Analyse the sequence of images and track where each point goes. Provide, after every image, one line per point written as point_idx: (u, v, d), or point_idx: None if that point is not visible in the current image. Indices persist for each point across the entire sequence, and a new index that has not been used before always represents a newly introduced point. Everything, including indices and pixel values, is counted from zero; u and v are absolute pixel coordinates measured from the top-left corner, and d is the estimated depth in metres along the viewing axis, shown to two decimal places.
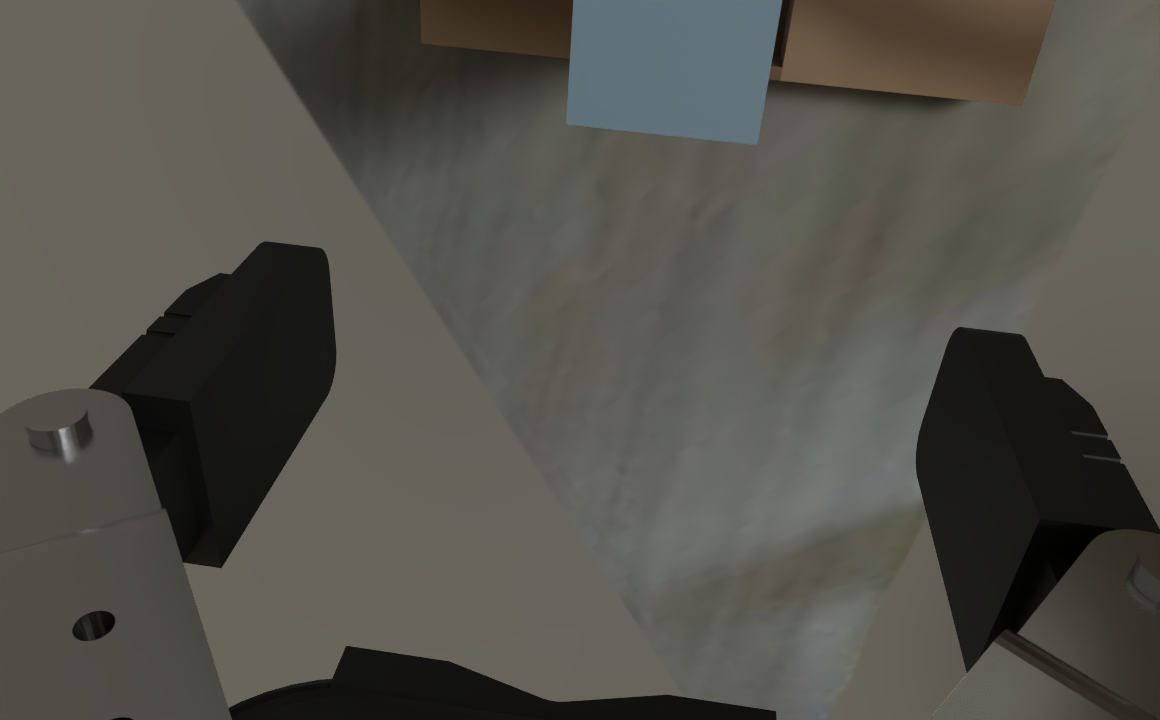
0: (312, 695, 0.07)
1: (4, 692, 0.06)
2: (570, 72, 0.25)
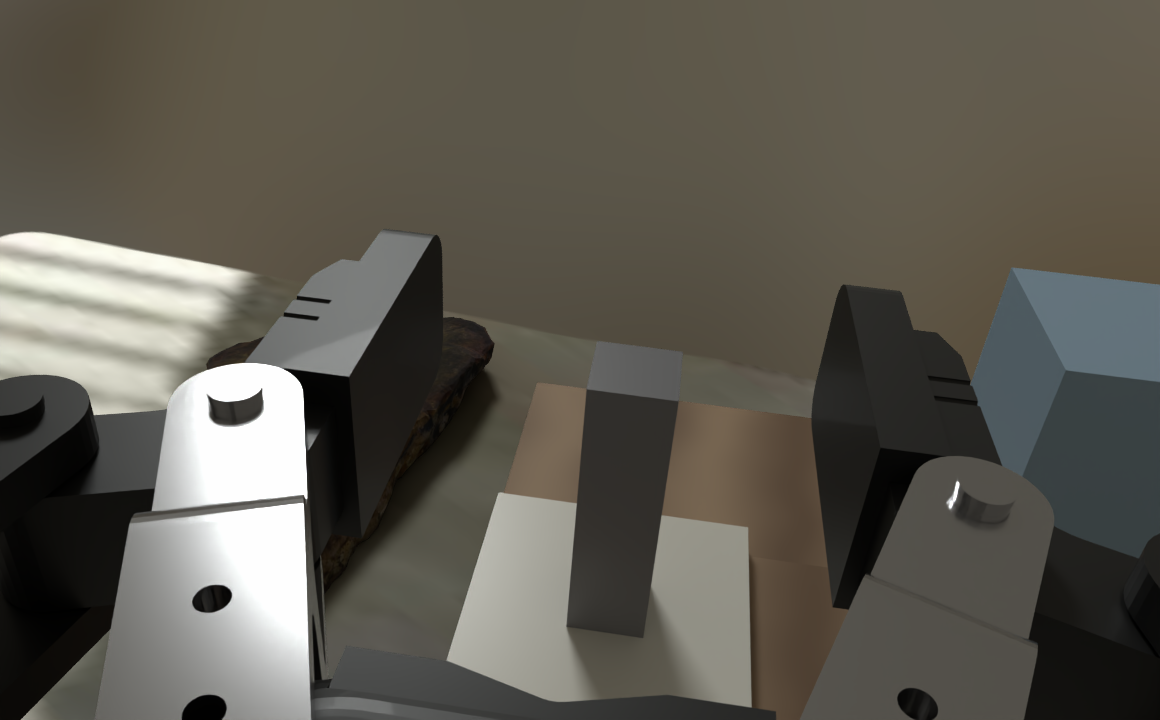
0: None
1: (121, 647, 0.06)
2: None
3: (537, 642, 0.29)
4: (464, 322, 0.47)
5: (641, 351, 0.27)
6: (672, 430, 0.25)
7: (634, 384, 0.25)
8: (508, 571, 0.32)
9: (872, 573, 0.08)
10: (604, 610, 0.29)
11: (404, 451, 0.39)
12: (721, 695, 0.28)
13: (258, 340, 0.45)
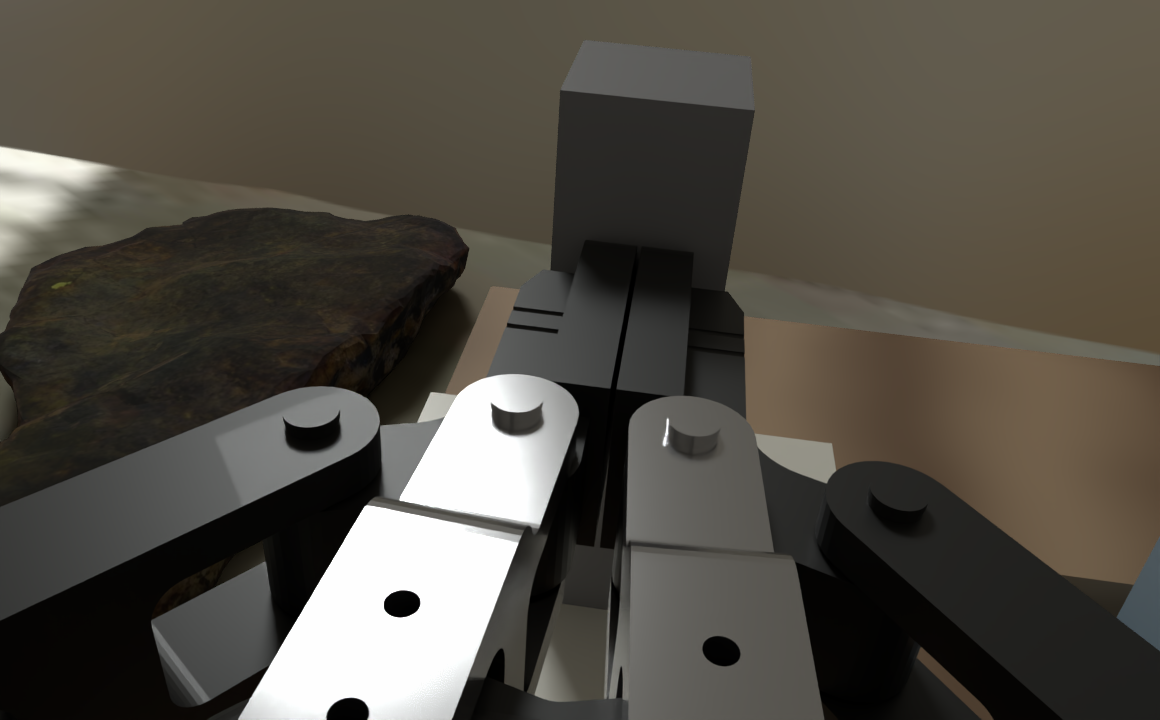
0: None
1: (310, 621, 0.06)
2: None
3: None
4: (425, 220, 0.32)
5: (669, 53, 0.14)
6: (738, 183, 0.12)
7: (659, 88, 0.12)
8: None
9: (627, 535, 0.08)
10: (600, 568, 0.16)
11: None
12: None
13: (115, 243, 0.30)
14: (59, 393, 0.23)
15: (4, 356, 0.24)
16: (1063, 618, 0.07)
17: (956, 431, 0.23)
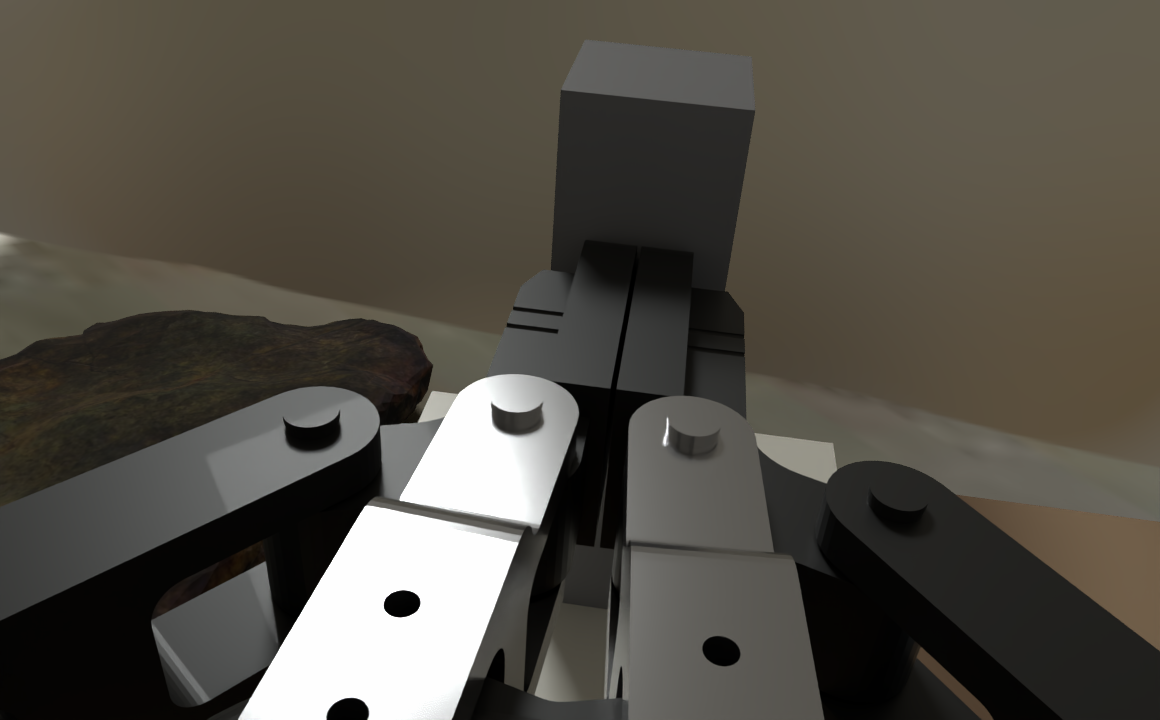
0: None
1: (309, 621, 0.06)
2: None
3: None
4: (380, 327, 0.26)
5: (670, 52, 0.14)
6: (738, 183, 0.12)
7: (660, 87, 0.12)
8: None
9: (627, 535, 0.08)
10: (600, 568, 0.16)
11: None
12: None
13: None
14: None
15: None
16: (1062, 617, 0.07)
17: None
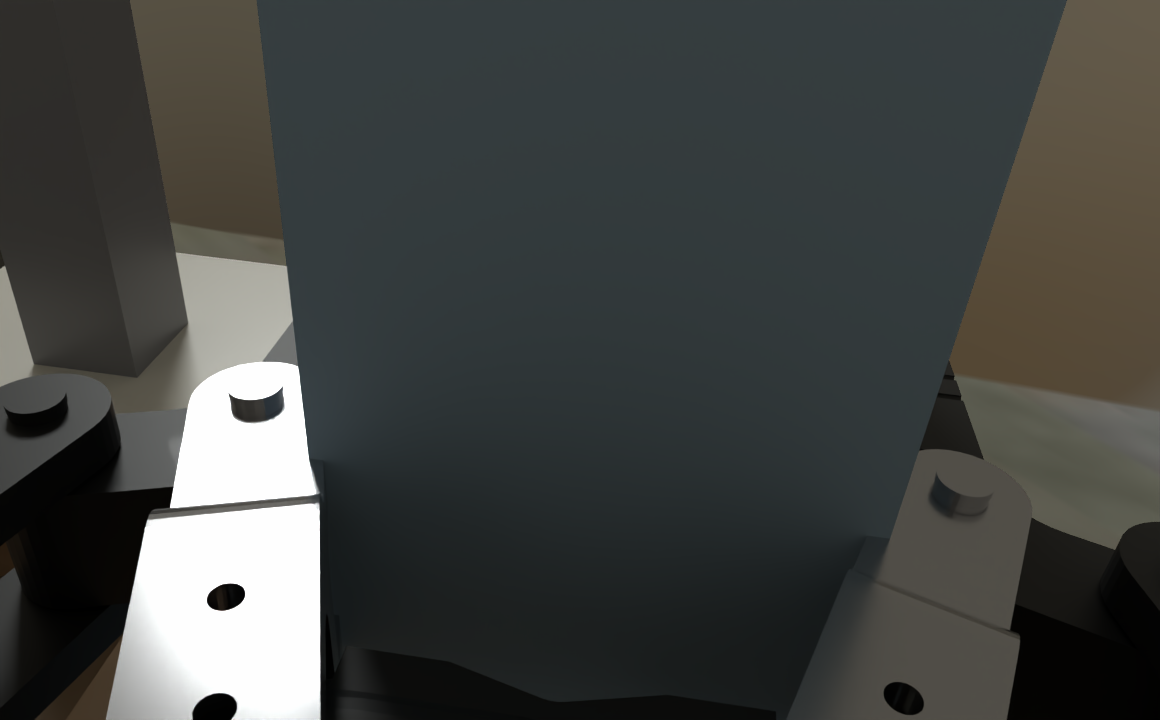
0: None
1: (135, 643, 0.06)
2: None
3: None
4: None
5: None
6: None
7: None
8: None
9: (855, 568, 0.08)
10: (72, 333, 0.21)
11: None
12: None
13: None
14: None
15: None
16: None
17: None
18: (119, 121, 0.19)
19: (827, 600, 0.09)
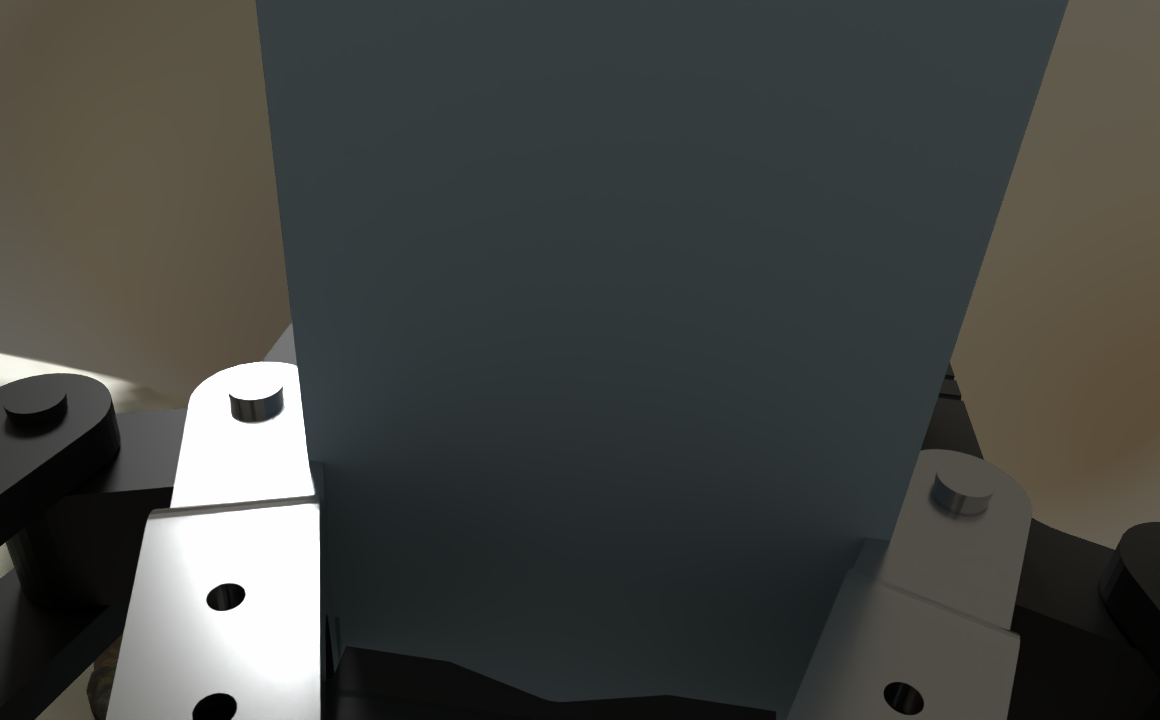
0: None
1: (135, 642, 0.06)
2: None
3: None
4: None
5: None
6: None
7: None
8: None
9: (855, 568, 0.08)
10: None
11: None
12: None
13: None
14: None
15: (99, 706, 0.27)
16: None
17: None
18: None
19: (827, 604, 0.08)
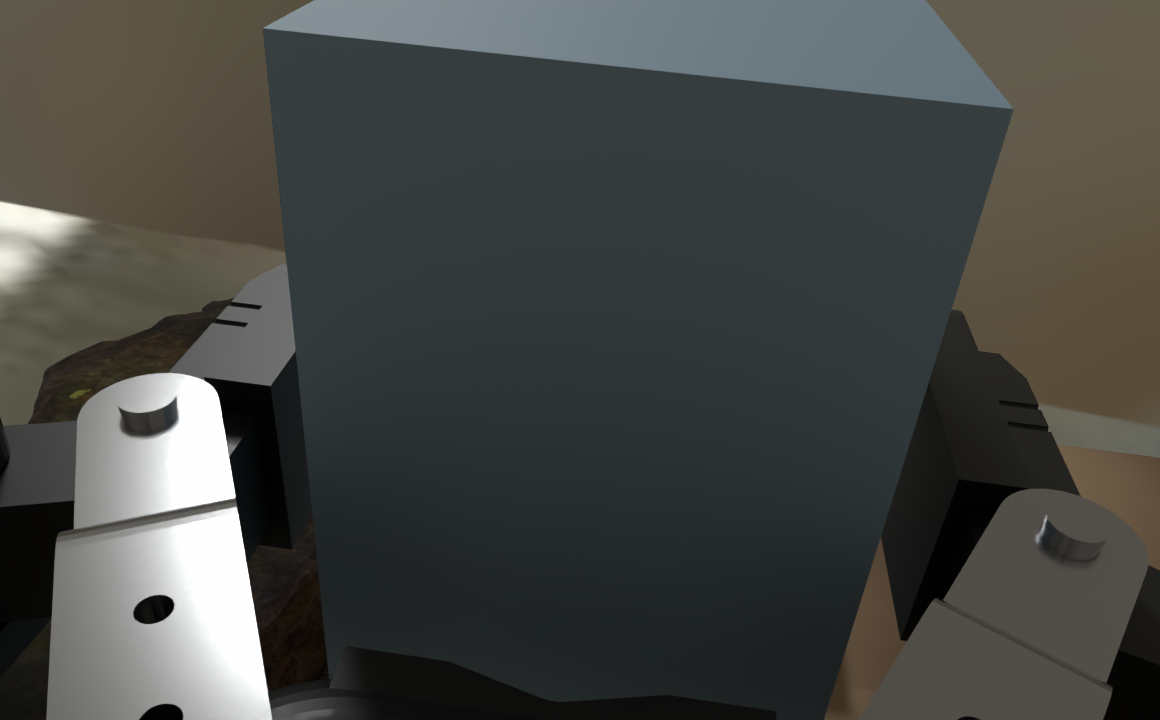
0: (312, 695, 0.07)
1: (63, 666, 0.06)
2: (799, 89, 0.06)
3: None
4: None
5: None
6: None
7: None
8: None
9: (945, 599, 0.08)
10: None
11: None
12: None
13: (133, 337, 0.28)
14: None
15: None
16: None
17: None
18: None
19: (790, 700, 0.09)
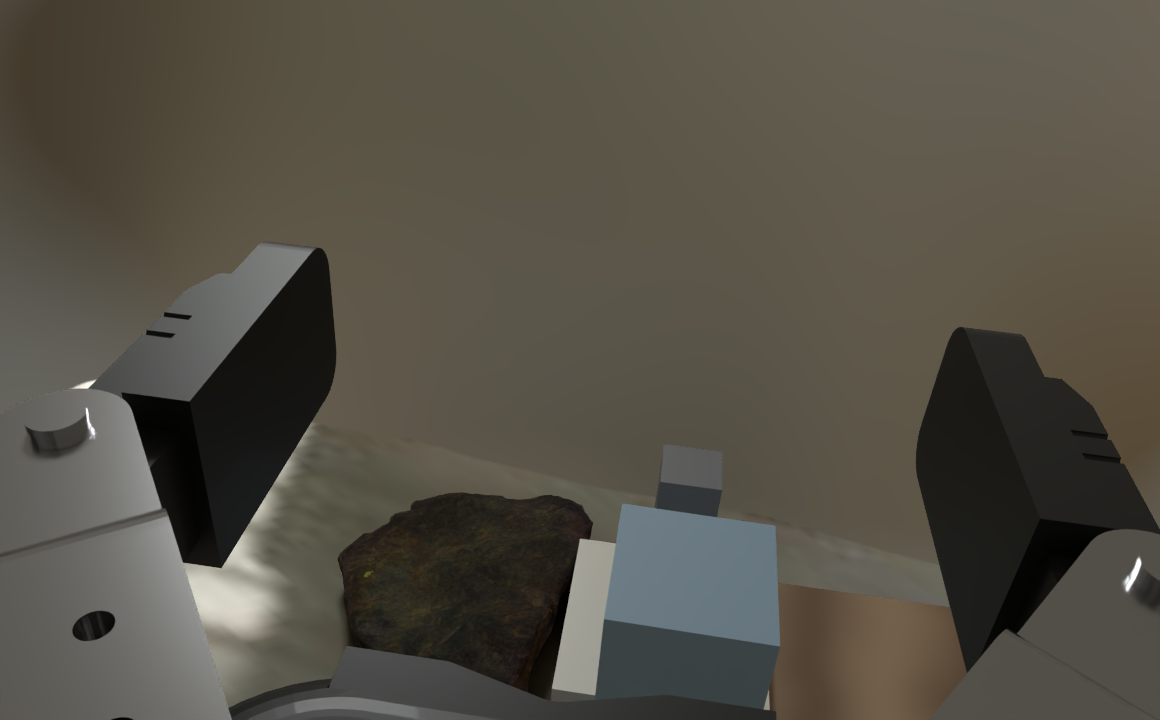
0: (312, 695, 0.07)
1: (4, 692, 0.06)
2: (731, 638, 0.27)
3: None
4: (563, 501, 0.52)
5: (694, 451, 0.39)
6: (717, 508, 0.38)
7: (691, 477, 0.38)
8: (593, 598, 0.44)
9: (1019, 633, 0.07)
10: None
11: (536, 649, 0.44)
12: None
13: (380, 530, 0.49)
14: None
15: (359, 632, 0.43)
16: None
17: (839, 662, 0.43)
18: None
19: None
